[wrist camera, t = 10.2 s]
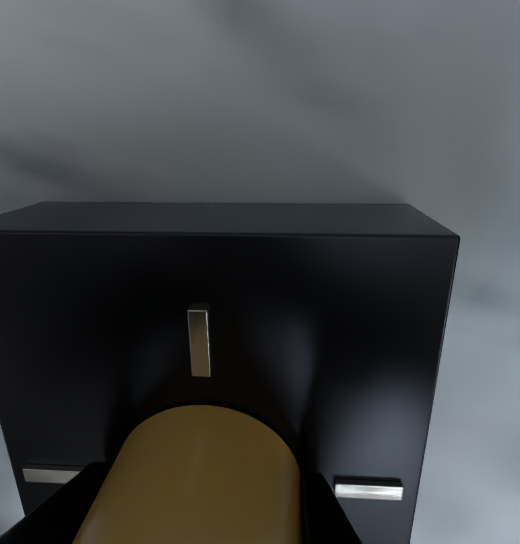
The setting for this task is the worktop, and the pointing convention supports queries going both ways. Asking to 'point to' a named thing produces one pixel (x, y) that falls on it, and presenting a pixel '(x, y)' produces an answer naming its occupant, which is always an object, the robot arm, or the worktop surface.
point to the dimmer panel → (227, 336)
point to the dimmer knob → (198, 484)
